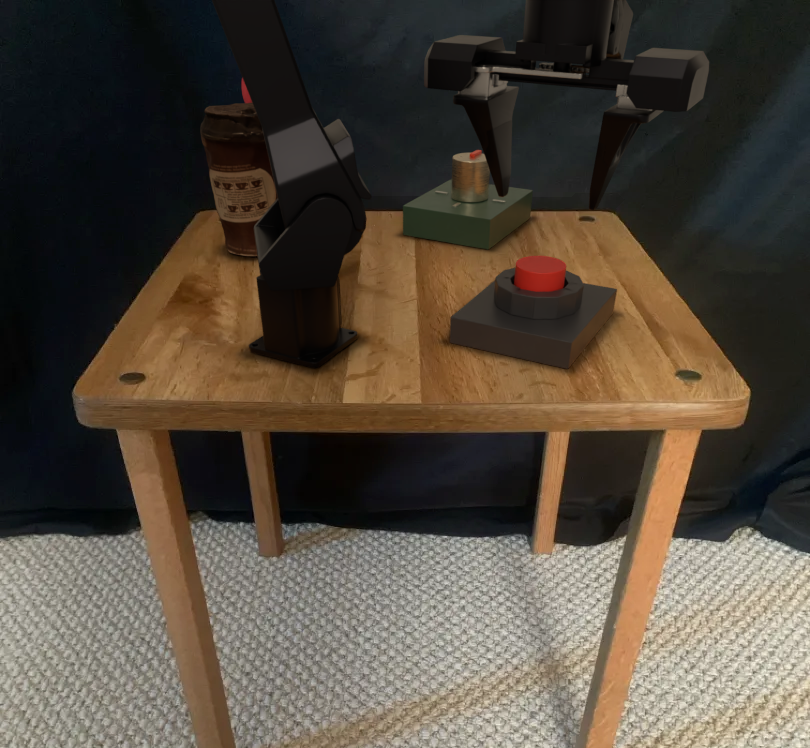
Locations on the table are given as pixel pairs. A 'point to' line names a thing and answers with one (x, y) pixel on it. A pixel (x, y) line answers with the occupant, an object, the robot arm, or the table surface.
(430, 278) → the table surface
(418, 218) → the dimmer panel
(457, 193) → the dimmer knob
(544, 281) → the light button
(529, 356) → the lamp switch
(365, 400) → the table surface
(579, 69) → the robot arm
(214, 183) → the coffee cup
